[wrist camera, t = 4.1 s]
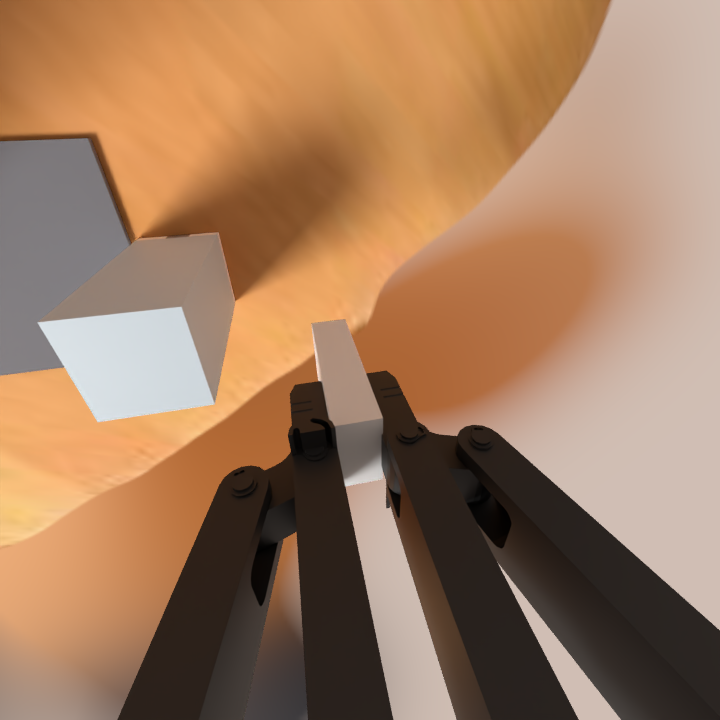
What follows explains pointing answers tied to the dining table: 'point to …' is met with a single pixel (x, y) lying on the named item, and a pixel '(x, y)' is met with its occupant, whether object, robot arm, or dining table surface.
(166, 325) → the block
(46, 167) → the mat
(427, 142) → the dining table surface
